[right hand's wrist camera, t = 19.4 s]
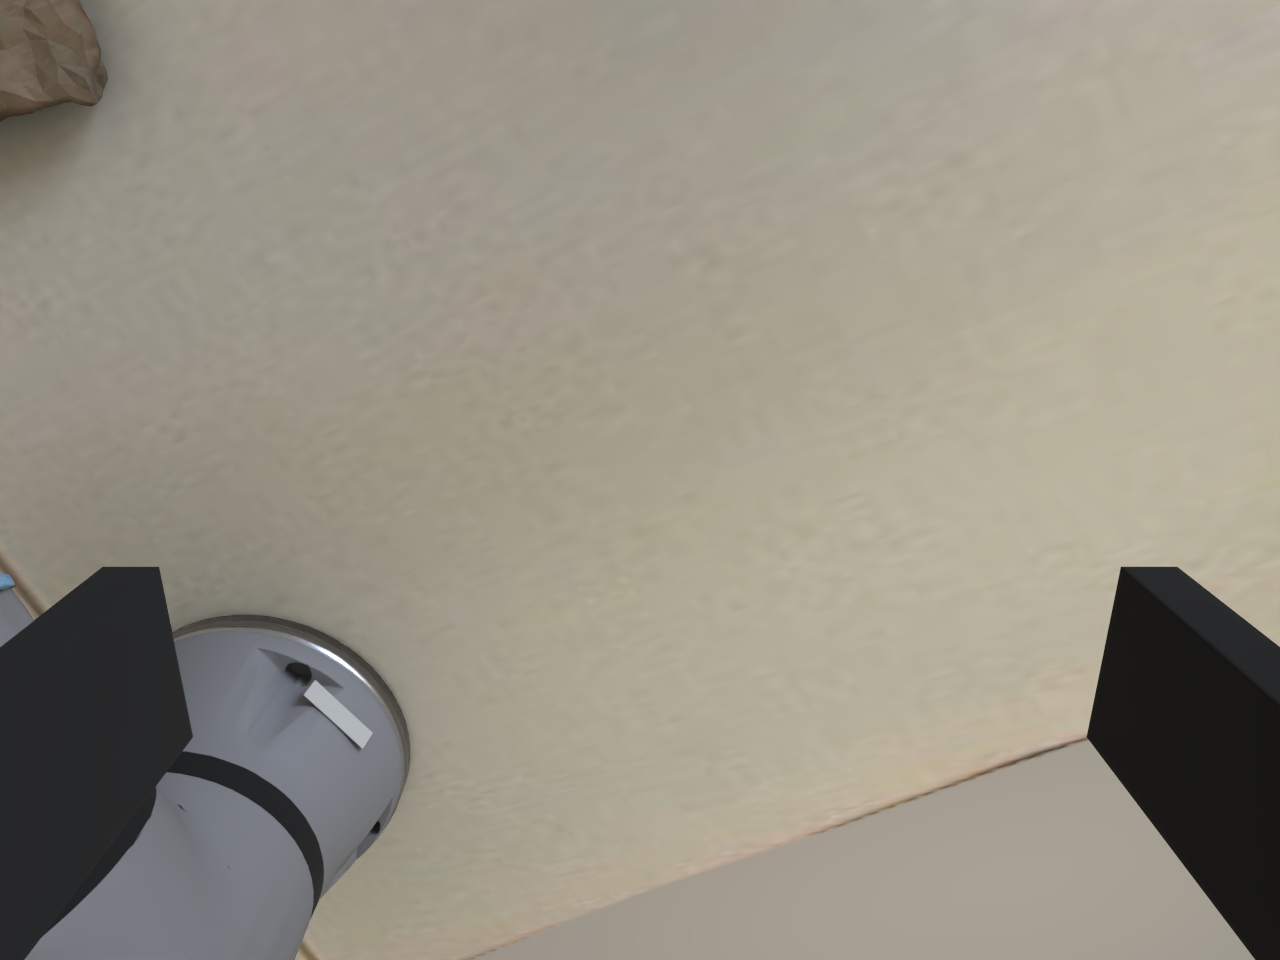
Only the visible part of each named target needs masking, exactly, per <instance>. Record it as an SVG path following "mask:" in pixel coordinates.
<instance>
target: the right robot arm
mask: <svg viewBox="0 0 1280 960" xmlns="http://www.w3.org/2000/svg"><path fill="white" fill-rule="evenodd" d="M15 586H16V585H15V584H14V582H13V580H12V578H11V577H10V576H9V575H8V574H2V573H0V960H294V959H295V957H296V954H297V952H298V949H299V947H300V944H301V942H302V939H303V937H304V934H305V932H306V929H307V927H308V924H309V921H310V919H311V917H312V915H313V912H314V910H315V908H316V905H317V903H318V901H319V899H320V898H321V897H322V896H323V895H324V894H325V893H326V892H327V891H328V890H329V889H330V888H331V887H332V886H333V884H334V883H335V882H336V881H337V880H338V879H339V878H340V877H341V876H342V875H343V874H344V873H345V872H346V871H347V870H348V869H349V868H350V867H351V865H352V864H353V863H354V861H355V860H356V859H357V858H359V857H360V856H361V855H362V854H363V853H364V852H365V851H366V850H367V849H368V848H369V847H370V846H371V845H372V844H373V843H374V842H375V840H376V839H377V838H378V837H379V835H380V834H381V833H382V831H383V830H384V828H385V827H386V826H387V824H388V823H389V821H390V819H391V818H392V816H393V814H394V812H395V810H396V807H397V804H398V802H399V799H400V796H401V794H402V791H403V788H404V785H405V783H406V780H407V775H408V771H409V764H410V742H409V734H408V730H407V726H406V722H405V719H404V717H403V714H402V711H401V709H400V707H399V705H398V703H397V701H396V699H395V697H394V695H393V694H392V692H391V691H390V689H389V687H388V686H387V685H386V683H385V682H384V681H383V679H382V678H381V677H380V676H379V675H378V674H377V672H376V671H375V670H374V669H373V668H372V667H371V666H370V665H369V664H368V663H367V662H366V661H364V660H363V659H362V658H361V657H360V656H359V655H357V654H356V653H355V652H353V651H352V650H351V649H350V648H348V647H347V646H345V645H343V644H342V643H340V642H339V641H337V640H335V639H334V638H332V637H330V636H328V635H326V634H324V633H322V632H320V631H317V630H315V629H313V628H310V627H308V626H305V625H302V624H299V623H296V622H292V621H288V620H284V619H280V618H274V617H267V616H257V615H231V616H222V617H216V618H211V619H206V620H202V621H199V622H196V623H192V624H190V625H188V626H185V627H183V628H180V629H178V630H177V631H175V632H173V633H172V629H171V624H170V619H169V614H168V609H167V605H166V600H165V595H164V590H163V585H162V580H161V575H160V570H159V567H102V568H101V569H100V570H98V571H97V572H96V573H94V574H93V575H92V576H91V577H89V578H88V579H87V580H85V581H84V582H83V583H82V584H80V585H79V586H78V587H77V588H75V589H74V590H73V591H71V592H70V593H69V594H68V595H66V596H65V597H64V598H62V599H61V600H60V601H59V602H57V603H56V604H55V605H53V606H52V607H51V608H50V609H48V610H47V611H46V612H45V613H43V614H42V615H41V616H39V617H38V618H37V619H36V620H34V619H33V618H32V616H31V615H30V613H29V612H28V610H27V609H26V608H25V606H24V605H23V603H22V602H21V601H20V599H19V598H18V596H17V595H16V594H15V592H14V591H13V589H12V588H13V587H15ZM1087 738H1088V739H1089V741H1090V742H1091V743H1092V744H1093V746H1094V747H1095V748H1096V750H1097V751H1098V752H1099V754H1100V755H1101V756H1102V758H1103V759H1104V760H1105V762H1106V763H1107V764H1108V766H1109V767H1110V768H1111V770H1112V771H1113V772H1114V773H1115V775H1116V776H1117V777H1118V779H1119V780H1120V781H1121V783H1122V784H1123V785H1124V787H1125V788H1126V789H1127V791H1128V792H1129V793H1130V795H1131V796H1132V797H1133V799H1134V800H1135V801H1136V802H1137V804H1138V805H1139V806H1140V808H1141V809H1142V811H1143V812H1144V813H1145V814H1146V816H1147V817H1148V818H1149V820H1150V821H1151V822H1152V824H1153V825H1154V826H1155V828H1156V829H1157V830H1158V832H1159V833H1160V834H1161V835H1162V837H1163V838H1164V840H1165V841H1166V842H1167V844H1168V845H1169V846H1170V848H1171V849H1172V850H1173V851H1174V853H1175V854H1176V855H1177V857H1178V858H1179V859H1180V861H1181V862H1182V863H1183V865H1184V866H1185V867H1186V869H1187V870H1188V871H1189V873H1190V874H1191V875H1192V876H1193V878H1194V879H1195V880H1196V882H1197V883H1198V884H1199V886H1200V887H1201V888H1202V890H1203V891H1204V892H1205V894H1206V895H1207V896H1208V898H1209V899H1210V900H1211V902H1212V903H1213V904H1214V906H1215V907H1216V908H1217V910H1218V911H1219V912H1220V914H1221V915H1222V916H1223V918H1224V919H1225V920H1226V921H1227V923H1228V924H1229V925H1230V927H1231V928H1232V929H1233V931H1234V932H1235V933H1236V935H1237V936H1238V937H1239V939H1240V940H1241V941H1242V943H1243V944H1244V945H1245V946H1246V948H1247V949H1248V950H1249V952H1250V953H1251V954H1252V956H1253V957H1254V958H1255V960H1280V647H1279V646H1278V645H1276V644H1275V643H1274V642H1273V641H1271V640H1270V639H1269V638H1267V637H1266V636H1265V635H1264V634H1262V633H1261V632H1260V631H1258V630H1257V629H1256V628H1255V627H1253V626H1252V625H1251V624H1250V623H1248V622H1247V621H1246V620H1244V619H1243V618H1242V617H1241V616H1239V615H1238V614H1237V613H1235V612H1234V611H1233V610H1232V609H1230V608H1229V607H1228V606H1227V605H1225V604H1224V603H1223V602H1221V601H1220V600H1219V599H1218V598H1216V597H1215V596H1214V595H1212V594H1211V593H1210V592H1209V591H1207V590H1206V589H1205V588H1203V587H1202V586H1201V585H1200V584H1198V583H1197V582H1196V581H1195V580H1193V579H1192V578H1191V577H1189V576H1188V575H1187V574H1186V573H1184V572H1183V571H1182V570H1180V569H1179V568H1178V567H1121V570H1120V575H1119V580H1118V585H1117V590H1116V595H1115V600H1114V605H1113V609H1112V614H1111V619H1110V624H1109V629H1108V634H1107V639H1106V644H1105V649H1104V654H1103V659H1102V664H1101V669H1100V674H1099V679H1098V684H1097V689H1096V694H1095V699H1094V704H1093V709H1092V714H1091V719H1090V724H1089V729H1088V734H1087Z"/></svg>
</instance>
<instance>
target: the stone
mask: <svg viewBox="0 0 1280 960" xmlns="http://www.w3.org/2000/svg"><path fill="white" fill-rule="evenodd" d="M100 57H101V50H100V47H99V44H98V41H97V37H96V34H95V30H94V28H93V26H92V24H91V22H90V20H89V18H88V17H87V15H86V13H85V12H84V10H83V9H82V6H81V4H80V2H79V0H0V122H1V121H2V120H4V119H5V118H6V117H10V116H17V115H23V114H30V113H33V112H34V111H36V110H39V109H41V108H44V107H49V106H53V105H56V104H60V103H64V102H71V101H72V102H75V103H77V104H79V105H85V106H93V105H95V104H97V103H98V102H99V101H100V99H101V98H102V94H103V89H104V87H105V84H106V82H107V79H108V78H107V72H106V69H105V67H104V65H103V64H102V62H101V61H100Z"/></svg>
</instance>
